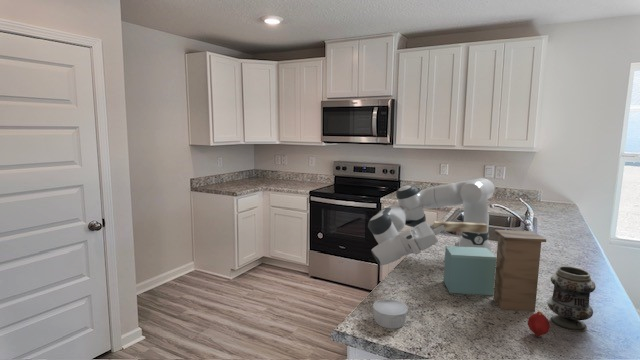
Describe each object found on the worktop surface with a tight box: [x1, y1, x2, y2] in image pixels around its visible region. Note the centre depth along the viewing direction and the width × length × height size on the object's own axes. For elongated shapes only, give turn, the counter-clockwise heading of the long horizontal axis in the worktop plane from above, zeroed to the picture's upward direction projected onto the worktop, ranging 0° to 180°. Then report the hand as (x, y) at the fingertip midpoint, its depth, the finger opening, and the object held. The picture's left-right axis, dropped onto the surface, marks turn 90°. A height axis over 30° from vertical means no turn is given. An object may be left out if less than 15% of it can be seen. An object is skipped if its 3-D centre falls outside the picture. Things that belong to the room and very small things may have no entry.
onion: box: [527, 310, 551, 337], centre depth 109 cm, size 6×6×8 cm
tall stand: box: [493, 229, 547, 313], centre depth 128 cm, size 10×13×26 cm
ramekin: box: [372, 298, 409, 330], centre depth 117 cm, size 11×11×5 cm
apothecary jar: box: [546, 265, 597, 333], centre depth 116 cm, size 12×12×18 cm
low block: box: [443, 245, 497, 296], centre depth 142 cm, size 11×16×15 cm
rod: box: [433, 220, 487, 233], centre depth 140 cm, size 19×3×3 cm, turn 82°
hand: (443, 225), depth 141 cm, fingers closed on rod, 3 cm apart
